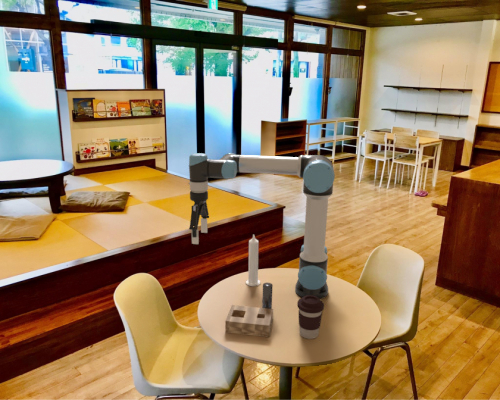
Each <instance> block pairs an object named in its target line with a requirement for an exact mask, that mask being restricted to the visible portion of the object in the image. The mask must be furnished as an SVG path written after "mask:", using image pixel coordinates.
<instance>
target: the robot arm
mask: <svg viewBox="0 0 500 400" xmlns="http://www.w3.org/2000/svg"><path fill="white" fill-rule="evenodd" d="M188 162H189V163H188V169H189V170H188V171H189V172H188V173H189V182H188V185H189V191H190V192H189V199H190V201H192V202H193V205H191V214H190V222H189V227H188V229H189V230H190V231H191V244H193V245H199V242H200V240H199V239H200V238H199V228H198V227H199V222H200V233H204V234H208V219H209V218H210V215H209V214H210V213H209V209H208V204H207V201H208V200H209V191H208V190H209V179H210V178H213V179H225V180H228V179H232V180H233V179H235V178H236V176H237V173H248V174H249V173H250V174H268V175H286V176H297V177H299V179H303V185H302V186H303V188H302V193H303V194H304V195H305V196H306V203H305V217H304V219H305V221H304V234H303V235H304V237H303V244H302V245H301V248H300V253H299V261H298V273H297V278H298V279H297V280H296V283H295V287H294V288H295V290H294V292H295V294H296V295H298V296H299V297H301V298H303V297H304V296H306V295H313V296H316V297H318V298H319V299H320V300H321V299H324V298H326V297H328V295H329V286H328V282H327V280H328V274H327V273H328V259H329V256H328V247H327V246H326V235H327V234H326V232H327V224H328V223H327V219H328V207H329V206H328V205H329V198H330V197H331V196H332V195H333V190H334V189H333V188H334V181H335V178H336V177H335V170H334V169H335V168H334V164H333V163H332V161H331V159H330V158H328V157H327V156H325V155H319V154H318V155H317V154H314V155H313V154H312V155H311V154H309V155H308V154H304V155H303V154H301V155H299V156H298V157H297V156H295V157H293V156H273V155H270V156H269V155H249V154H246V155H245V154H235V153H233V152H229V153H226V154H224V155H223V156H222V157H221V158H219V159H211V158H208V155H207V153H202V152H201V153H200V152H199V153H192V154H190V155H189V160H188ZM208 178H209V179H208ZM200 217H201V218H200Z"/></svg>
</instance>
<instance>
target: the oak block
mask: <svg viewBox="0 0 500 400" xmlns="http://www.w3.org/2000/svg"><path fill="white" fill-rule="evenodd" d="M273 317H274V309H273V308H272V309H267V308H262V307H256V306H247V305H246V306H245V305H237V304H232V305H230V308H229V312H228V314H227V315H226V319H225V321H224V322H225V330H224V331H225V333H228V334H229V333H230V334H231V333H232V334H238V335H247V336H248V335H249V336H257V337H266V338H270V333H271V329H272V324H273V320H274V319H273Z"/></svg>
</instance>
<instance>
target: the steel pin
mask: <svg viewBox="0 0 500 400" xmlns="http://www.w3.org/2000/svg"><path fill="white" fill-rule="evenodd" d="M261 301H262V306H261V308H267V309H273V283H271V282H264V283H263V284H262V298H261Z"/></svg>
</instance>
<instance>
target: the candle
mask: <svg viewBox="0 0 500 400" xmlns="http://www.w3.org/2000/svg"><path fill="white" fill-rule="evenodd" d="M245 284H246V285H247V286H248V287H258V286H260V285H261V280H260V279H259V239H257V238H256V237H255V234H252V238H251V239H249V240H248V278H247V279H246V280H245Z"/></svg>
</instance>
